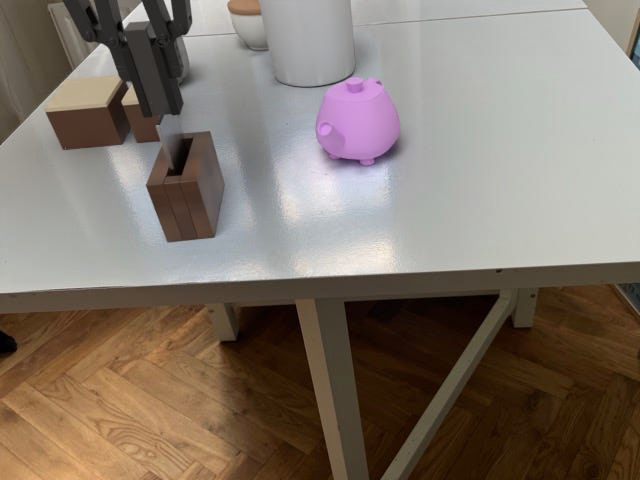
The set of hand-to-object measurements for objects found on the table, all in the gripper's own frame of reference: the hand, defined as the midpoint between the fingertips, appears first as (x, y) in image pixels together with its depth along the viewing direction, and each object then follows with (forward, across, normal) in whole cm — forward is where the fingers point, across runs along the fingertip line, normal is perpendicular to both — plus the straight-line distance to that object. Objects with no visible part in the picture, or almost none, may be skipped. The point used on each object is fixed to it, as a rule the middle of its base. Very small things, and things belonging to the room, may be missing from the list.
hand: (164, 110), depth 55 cm
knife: (+9, 0, 0) cm, 9 cm away
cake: (+12, -17, +24) cm, 32 cm away
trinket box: (+12, +5, +56) cm, 57 cm away
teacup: (+13, -12, +42) cm, 45 cm away
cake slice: (+12, -9, +24) cm, 28 cm away
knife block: (+12, 0, 0) cm, 12 cm away
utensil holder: (+12, +14, +40) cm, 44 cm away
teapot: (+12, +19, +10) cm, 25 cm away
